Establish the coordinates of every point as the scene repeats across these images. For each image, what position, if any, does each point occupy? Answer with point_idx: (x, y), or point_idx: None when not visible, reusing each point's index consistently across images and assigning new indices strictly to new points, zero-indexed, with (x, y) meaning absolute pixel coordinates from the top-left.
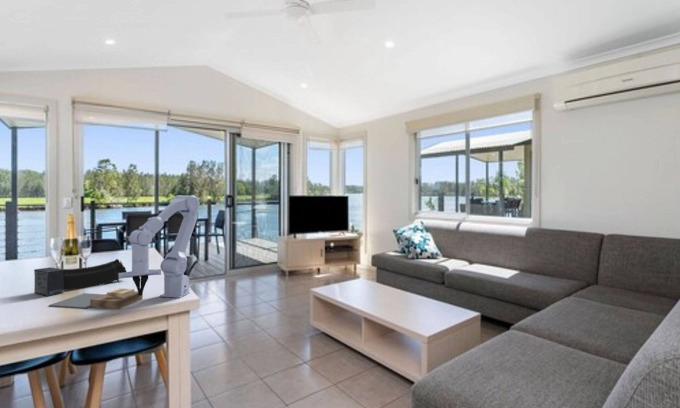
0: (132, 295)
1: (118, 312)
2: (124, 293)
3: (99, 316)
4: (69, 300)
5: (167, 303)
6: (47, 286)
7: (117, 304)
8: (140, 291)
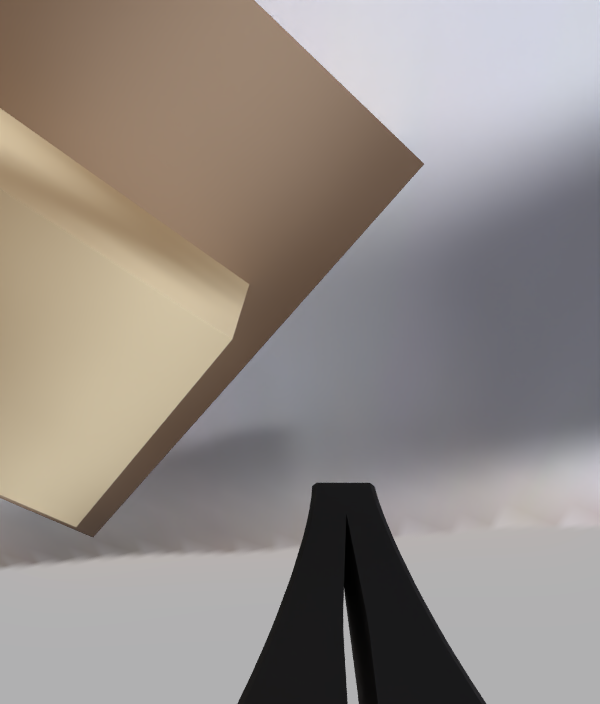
0: (223, 366)
1: (149, 529)
2: (91, 506)
3: (24, 550)
4: None
5: (596, 488)
6: None
7: None
8: (346, 575)
